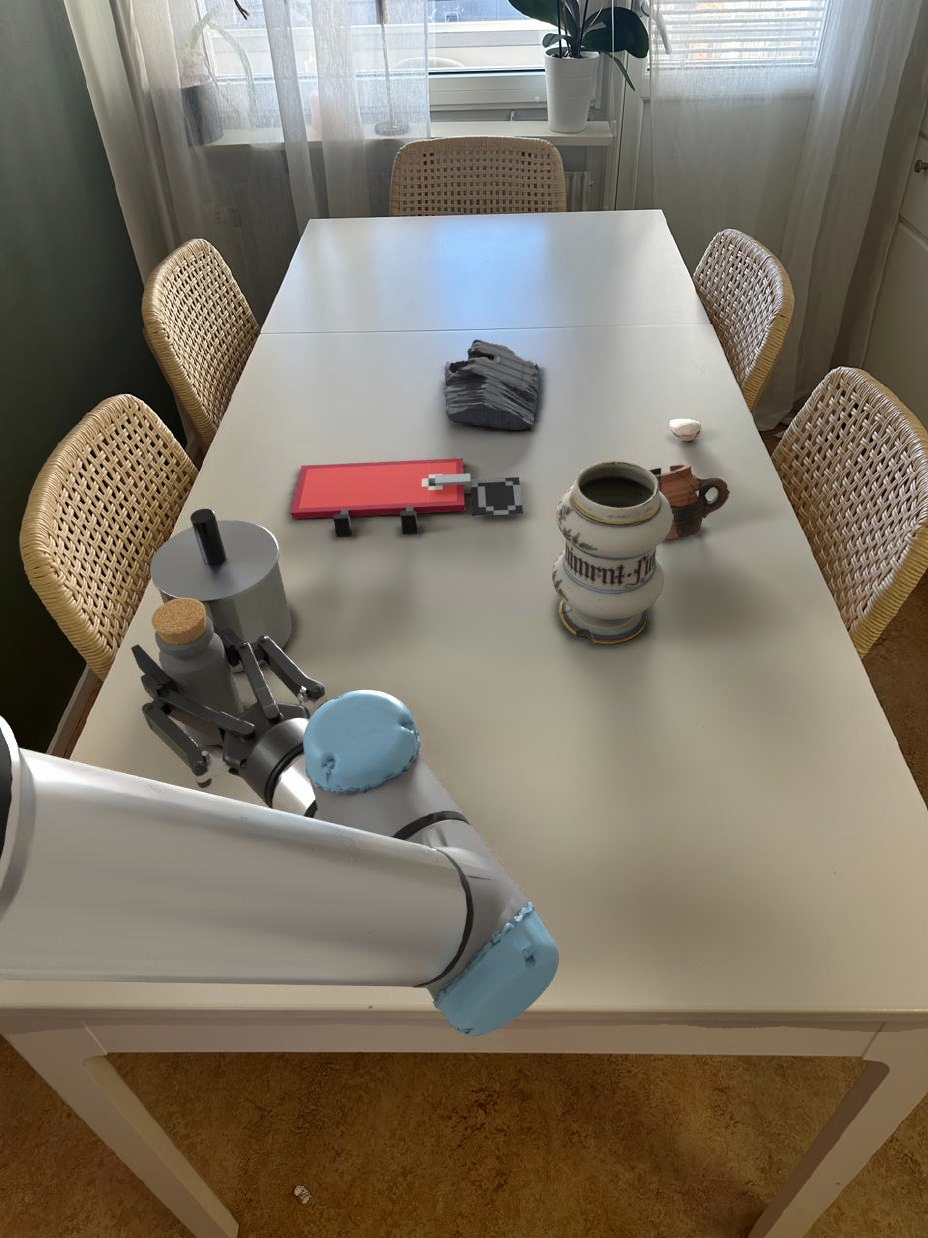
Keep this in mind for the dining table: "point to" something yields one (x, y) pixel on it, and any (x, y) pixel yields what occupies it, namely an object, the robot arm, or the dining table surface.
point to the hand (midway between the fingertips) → (169, 639)
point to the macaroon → (685, 429)
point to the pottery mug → (689, 498)
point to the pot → (254, 613)
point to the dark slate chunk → (492, 388)
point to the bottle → (195, 659)
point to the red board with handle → (399, 491)
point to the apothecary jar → (610, 550)
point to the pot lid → (214, 559)
